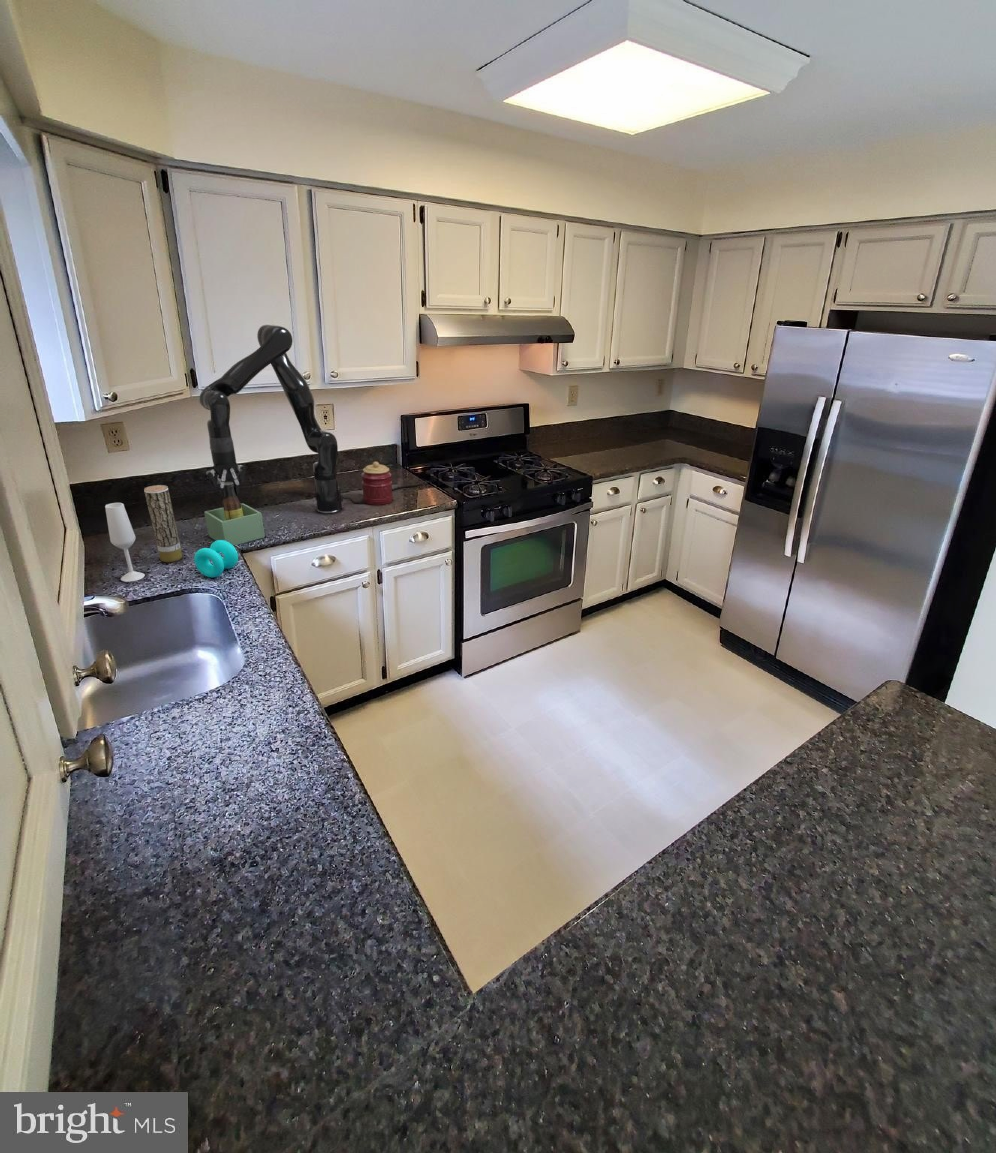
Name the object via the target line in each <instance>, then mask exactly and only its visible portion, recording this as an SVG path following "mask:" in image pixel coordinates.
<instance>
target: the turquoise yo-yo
mask: <svg viewBox="0 0 996 1153" xmlns="http://www.w3.org/2000/svg"><path fill="white" fill-rule="evenodd" d="M222 555H223V556H222ZM193 561H194V565H195V567H196V569H197V570H198V572H199V573H201V574H202V575H203V576H205V577H206V578H218V577H219V576H221V575H222V574H223V572H224V570H225V569H226V570H230V569H232V568H234V567H236V565H237V564H238V561H239V553H238V551H237V549H236V547H235V545H234V546H233V545H232V544H230V543H229V542H227V541H224V540H217V541H216V540H214V541H213V542H212V543H211V545H210V546H209V547H202V548H200V549H198V550H197V551H196V552H195V554H194V558H193Z"/></svg>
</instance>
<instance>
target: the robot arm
mask: <svg viewBox="0 0 996 1153" xmlns="http://www.w3.org/2000/svg"><path fill="white" fill-rule="evenodd" d="M256 335H257V336H256V338H257V342H258V345H259V348H257V349H255V351H253V352H252V353H250V354H248V355H247V356H245V357H244V358H241V359H240V360H239V361H237V362H236V363H234V364H233V365H232V366H230V368H229V369H228V370H227V371H226V372H225V373H224V374H222V376H221V377H220V378H217V379H216V380H215V381H213V382H212V383H209V385H207V386H206V387H205V388H204V389H202V391H200V394H199V397H198V401H199V404H200V406H201V407H202V408H204V409H205V410H208V411H209V413H210V418H209V419H208V420H207V423H206V426H207V433H208V438H209V439H208V440H209V449H210V454H211V459H212V464H213V466H212V469H210V470H206V471H205V475H206V476H207V478H208V480H209V482H210V484H211V485H212V487H214V488H218V492H219V496H220V497H222V499H224V498H226V493H225V488H224V482H226V479H228V478H230V479H231V482H233V483H234V490H235V494H236V496H239V495H240V492H241V490H240V485H241V483H244V482H245V477H246V476H245V475H246V470H247V467H246V466H245V465H243V464H238V463H237V458H236V451H235V445H234V440H233V437H232V432H231V426H230V419H231V403H230V400H229V397H230V396H232V395H233V396H234V395H237V394H239V393H240V392H241V391H242V390H243V389H244V388H245V387H246V386H247V385H248V384H249V383H251V381H252V380H254V378H255V377H256V376H257V375H258V374H259V373H261V372H262V371H263V370H264V369H265V368H267V367H268V366H271V367H272V369H273V371H274V373H275V375H276V378H277V380H278V382H279V384H280V386H281V388H282V391H283V393H284V395H285V397H286V399H287V401H288V403H289V405H290V408H291V410H292V411H293V414H294V415H295V418H296V420H297V421H298V423H299V427H300V429H301V432H302V435H303V437H304V440H305V443H306V446H307V447H308V449H309V450H310V451H311V452H313V453H315V454H317V461H316V462H314V463H313V464H312V470H313V479H314V489H315V490H314V491H315V502H316V511H317V513H320V514H327V515H330V514H336V513H338V512H340V511H342V510H343V503H342V502H344V500H348V501H350V502H351V503H353V504H366V503H365V501H364V500H362V501H359V500H358V501H357V500H354V499H352V498H350V497H348V496H344V495H342V492H341V490H342V489H341V487H339V481H338V469H337V468H338V467H337V466H338V463H339V451H338V450H339V449H338V446H339V445H338V440H337V438H336V436H335V435H334V434H333V433H331V432H330V431H326V430H323V429H322V428H321V427H320V424H319V423H318V421H317V418H316V415H315V398H314V395H313V393H312V390H311V388H310V386H309V384H308V382H307V380H306V379H305V377H304V376H303V375H302V373H301V372H300V371H299V370H298V369H297V368H296V366H295V365H294V364H293V362H292V361H291V359H290V358H289V356H288V354H287V352H288V351H290V349H291V348H292V346H293V342H294V341H293V335H292V333H291V332H290V330H289V329H287V328H286V327H284V326H281V325H275V324H264V325H261V326H260V327H259V328H258V330H257V334H256ZM237 471H238V473H237ZM236 473H237V474H236ZM215 474H216V475H217V480H216V478H215ZM429 481H430V480H424V481H421V482H420V483H423V484H426V483H425V482H428V483H427V484H430V485H433V483H432V482H431V481H430V482H429ZM416 484H417V485H414V484H406V485H407V486H405V485H400V486H401V487H399V486H396V487H397V488H395V487H393V488H394V489H393V488H392V492H393V491H395V490H399V489H403V488H413V487H418V486H421V485H423V484H419V483H416Z"/></svg>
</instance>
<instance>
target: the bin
mask: <svg viewBox="0 0 996 1153" xmlns="http://www.w3.org/2000/svg"><path fill="white" fill-rule="evenodd" d="M241 506H242V511H243V516H244V517H239V518H235V519H231V520H227V521H226V520H225V515H224V508H223V507H219V508H214V509H209V510H206V511H204V517H205V522H206V528H207V533H208V537H209V538H211V539H212V540H214V541H217V540H224V541H227V542H229V543H230V544H232V545H233V546H234V547H235V546H237V545H241V544H244V543H249V542H253V541H256V540H260V539H264V538H265V537H266V536H265V529H264V521H263V515H262V512H260V511H258V510H256V509H254V508H253V507H251V506H249V505H247V504H245V503H241Z"/></svg>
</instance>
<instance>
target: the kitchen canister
mask: <svg viewBox="0 0 996 1153" xmlns="http://www.w3.org/2000/svg"><path fill="white" fill-rule="evenodd" d="M360 475H361V478H362V481H361V486H362V501H365V503H364V504H367V505H371V506H378V505H379V506H381V505H386V504H389V503H391V502H392V501H393V498H394V497H393V491H392V489H393V485H392V484H393V481H392V479H391V477H392V472H390V468H389V467H387V466H386V465H384V464H380V463H379V462H378V461H373V462H372V464H368V465H366V466H365V467H364V468H363V469H362V473H361V474H360Z"/></svg>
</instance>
